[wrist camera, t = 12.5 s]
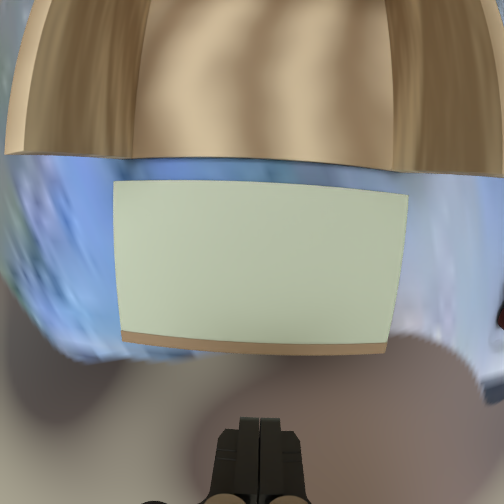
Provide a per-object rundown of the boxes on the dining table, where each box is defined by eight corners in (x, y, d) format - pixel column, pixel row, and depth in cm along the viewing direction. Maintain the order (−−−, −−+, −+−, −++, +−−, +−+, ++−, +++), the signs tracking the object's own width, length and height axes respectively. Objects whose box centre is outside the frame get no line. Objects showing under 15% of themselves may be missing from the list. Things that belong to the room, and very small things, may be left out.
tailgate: (409, 195, 19) (384, 353, 21) (400, 194, 20) (378, 344, 22) (113, 181, 19) (122, 341, 21) (121, 181, 20) (128, 333, 23)
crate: (391, -6, 16) (457, -83, 4) (400, 172, 20) (519, 179, 8) (146, -17, 16) (87, -101, 5) (123, 159, 20) (4, 154, 8)
